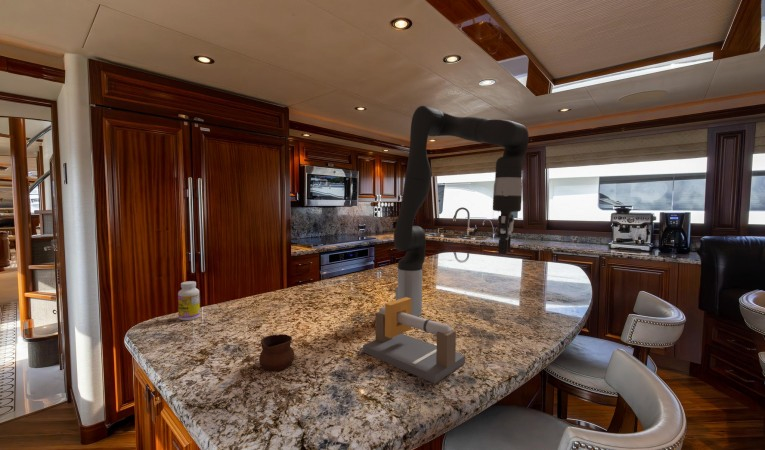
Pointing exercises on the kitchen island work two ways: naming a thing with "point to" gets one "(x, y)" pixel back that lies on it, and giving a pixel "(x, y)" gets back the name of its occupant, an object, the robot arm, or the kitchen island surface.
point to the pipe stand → (416, 348)
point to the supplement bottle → (188, 301)
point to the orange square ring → (391, 316)
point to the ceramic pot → (275, 353)
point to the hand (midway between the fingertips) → (504, 251)
